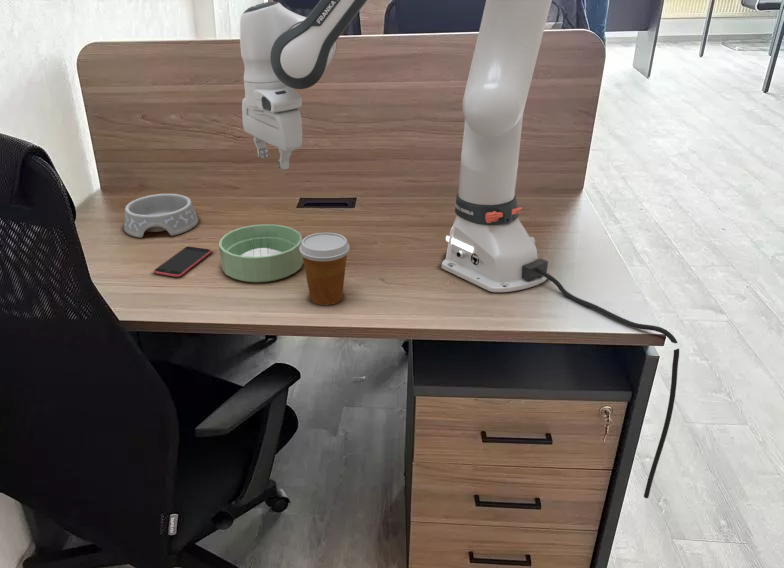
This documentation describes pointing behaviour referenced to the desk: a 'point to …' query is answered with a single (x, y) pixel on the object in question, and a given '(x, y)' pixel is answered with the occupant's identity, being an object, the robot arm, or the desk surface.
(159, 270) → the smartphone
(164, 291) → the desk surface
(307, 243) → the disposable coffee cup
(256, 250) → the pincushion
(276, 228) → the bowl
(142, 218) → the dog bowl
